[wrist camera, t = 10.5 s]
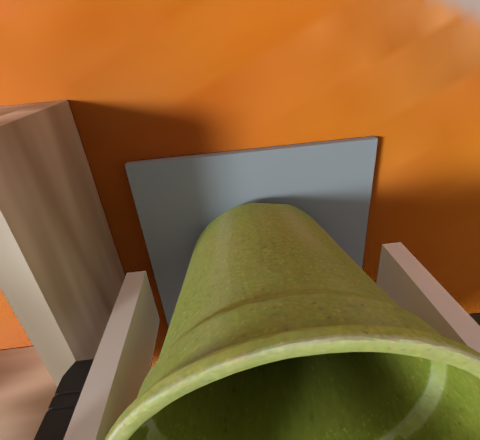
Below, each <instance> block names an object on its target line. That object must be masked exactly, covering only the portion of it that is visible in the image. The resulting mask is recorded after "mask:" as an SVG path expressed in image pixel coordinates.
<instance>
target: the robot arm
mask: <svg viewBox="0 0 480 440" xmlns="http://www.w3.org/2000/svg"><path fill="white" fill-rule="evenodd" d="M376 284H377V285H378V286H379V287H380V288H381V289H382V290H383V291H384V292H385V293H386V294H387V295H388V296H389V297H390V298H391V299H392V300H393V301H394V302H395V303H396V304H397V305H398V306H399V307H401V308H403V309H406V310H408V311H410V312H411V313H413V314H415V315H416V316H418V317H419V318H421V319H423V320H424V321H425V322H427V323H428V324H429V325H430V326H432V327H433V328H434V329H435V330H436V331H437V332H438V333H439V334H440V335H442V336H444V337H446V338H449V339H452V340H454V341H457V342H459V343H462V344H464V345H466V346H469V347H470V348H472V349H474V350H476V351H477V352H479V353H480V313H473V314H468V313H467V312H466V311H465V310H464V309H463V308H462V307H461V306H460V304H459V303H458V302H457V301H456V300H455V299H454V298H453V297H452V296H451V295H450V294H449V293H448V292H447V291H446V290H445V289H444V287H443V286H442V285H441V284H440V283H439V282H438V281H437V280H436V279H435V278H434V277H433V276H432V275H431V274H430V273H429V272H428V270H427V269H426V268H425V267H424V266H423V265H422V264H421V263H420V262H419V261H418V260H417V259H416V258H415V257H414V256H413V255H412V254H411V252H410V251H409V250H408V249H407V248H406V247H405V246H404V245H403V244H402V243H401V242H396V243H387V244H382V248H381V255H380V261H379V268H378V274H377V281H376ZM159 323H160V318H159V315H158V311H157V308H156V304H155V301H154V297H153V294H152V290H151V287H150V283H149V280H148V276H147V273H146V271H138V272H129V273H127V274H126V276H125V279H124V281H123V284H122V287H121V289H120V292H119V295H118V297H117V300H116V302H115V305H114V308H113V310H112V313H111V316H110V318H109V321H108V324H107V326H106V329H105V331H104V334H103V337H102V339H101V342H100V345H99V347H98V350H97V353H96V355H95V358H94V359H89V360H81V361H75V362H74V364H73V365H72V366H71V367H70V368H69V369H68V371H67V372H66V373H65V374H64V375H63V376H62V379H61V381H60V383H59V385H58V387H57V390H56V392H55V396H54V397H53V398H52V401H51V403H50V405H49V407H48V411H47V412H46V414H45V416H44V418H43V420H42V423H41V425H40V427H39V429H38V431H37V434H36V436H35V438H34V440H105V438H106V436H107V434H108V432H109V431H110V429H111V427H112V426H113V425H114V423H115V422H116V420H117V419H118V418H119V416H120V415H121V414H122V413H123V412H124V410H125V409H126V408H127V407H128V406H129V405H130V404H131V403H132V402H133V401H134V400H135V399H137V396H138V393H139V390H140V388H141V386H142V384H143V381H144V379H145V377H146V376H147V374H148V372H149V371H150V369H151V364H152V359H153V354H154V349H155V344H156V339H157V334H158V328H159Z"/></svg>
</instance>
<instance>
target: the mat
mask: <svg viewBox="0 0 480 440" xmlns="http://www.w3.org/2000/svg"><path fill="white" fill-rule="evenodd" d="M377 143H378V138H376V137H375V136H368V137H359V138H349V139H340V140H330V141H321V142H311V143H302V144H293V145H283V146H274V147H264V148H255V149H245V150H236V151H226V152H217V153H207V154H198V155H188V156H179V157H169V158H160V159H150V160H141V161H131V162H127V163H126V164H125V169H126V173H127V176H128V180H129V184H130V187H131V191H132V195H133V198H134V202H135V206H136V209H137V213H138V217H139V221H140V224H141V228H142V232H143V235H144V239H145V243H146V246H147V250H148V254H149V257H150V261H151V265H152V269H153V272H154V276H155V280H156V283H157V287H158V291H159V294H160V298H161V302H162V306H163V309H164V313H165V317H166V320H167V324H168V328H169V325H170V322H171V319H172V316H173V313H174V310H175V307H176V304H177V301H178V298H179V295H180V292H181V289H182V286H183V282H184V279H185V276H186V273H187V270H188V267H189V263H190V260H191V257H192V254H193V250H194V248H195V245H196V242H197V240H198V238H199V237H200V235H201V233H202V232H203V231H204V229H205V228H206V227H207V226H208V225H209V224H210V223H211V222H212V221H213V220H214V219H215V218H217V217H218V216H219V215H221V214H222V213H224V212H226V211H228V210H230V209H232V208H234V207H236V206H239V205H243V204H246V203H270V204H289V205H292V206H294V207H296V208H299V209H300V210H302V211H304V212H305V213H307V214H308V215H309V216H311V217H312V218H313V219H314V220H315V221H316V222H317V223H318V224H319V225H320V226H321V227H322V228H323V229H324V230H325V231H326V232H327V234H328V235H329V236H330V237H331V238H332V239H333V240H334V241H335V242H336V243H337V244H338V245H339V246H340V247H341V248H342V249H343V250H344V251H345V252H346V253H347V255H348V256H349V257H350V258H351V259H352V260H353V261H354V262H355V263H356V264H357V265H358V266H359V267H360V268H361V269H362V266H363V257H364V249H365V241H366V233H367V225H368V217H369V208H370V200H371V192H372V184H373V176H374V167H375V159H376V151H377Z"/></svg>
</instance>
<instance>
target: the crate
mask: <svg viewBox="0 0 480 440" xmlns="http://www.w3.org/2000/svg"><path fill="white" fill-rule="evenodd" d="M124 279H125V274H124V271H123V268H122V265H121V262H120V259H119V256H118V253H117V250H116V246H115V243H114V240H113V237H112V234H111V231H110V228H109V225H108V222H107V219H106V216H105V213H104V210H103V207H102V204H101V201H100V197H99V194H98V191H97V188H96V185H95V182H94V179H93V176H92V173H91V170H90V167H89V164H88V161H87V158H86V155H85V152H84V148H83V145H82V142H81V139H80V136H79V133H78V130H77V127H76V124H75V121H74V118H73V115H72V112H71V109H70V106H69V103H68V100H62V101H52V102H42V103H32V104H22V105H12V106H2V107H0V289H1V291H2V292H3V294H4V296H5V298H6V299H7V301H8V303H9V305H10V306H11V308H12V310H13V311H14V313H15V315H16V317H17V318H18V320H19V322H20V324H21V325H22V327H23V329H24V330H25V332H26V334H27V336H28V337H29V339H30V341H31V343H32V344H33V346H32V347H24V348H15V349H6V350H0V440H34V438H35V436H36V434H37V431H38V429H39V427H40V425H41V423H42V420H43V418H44V416H45V414H46V412H47V411H48V407H49V405H50V403H51V401H52V398H53V397H54V396H55V392H56V390H57V387H58V385H59V383H60V381H61V379H62V376H63V375H64V374H65V373H66V372H67V371H68V369H69V368H70V367H71V366H72V365H73V364H74V362H75V361H81V360H89V359H94V358H95V355H96V353H97V350H98V347H99V345H100V342H101V339H102V337H103V334H104V331H105V329H106V326H107V324H108V321H109V318H110V316H111V313H112V310H113V308H114V305H115V302H116V300H117V297H118V295H119V292H120V289H121V287H122V284H123V281H124Z"/></svg>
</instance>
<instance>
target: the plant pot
mask: <svg viewBox="0 0 480 440" xmlns="http://www.w3.org/2000/svg"><path fill="white" fill-rule="evenodd" d="M105 440H480V353H479V352H477V351H476V350H474V349H472V348H470V347H469V346H466V345H464V344H462V343H459V342H457V341H454V340H452V339H449V338H446V337H444V336H442V335H440V334H439V333H438V332H437V331H436V330H435V329H434V328H433V327H432V326H430V325H429V324H428V323H427V322H425V321H424V320H423V319H421V318H419V317H418V316H416V315H415V314H413V313H411V312H410V311H408V310H406V309H403V308H401V307H399V306H398V305H397V304H396V303H395V302H394V301H393V300H392V299H391V298H390V297H389V296H388V295H387V294H386V293H385V292H384V291H383V290H382V289H381V288H380V287H379V286H378V285H377V284H376V283H375V282H374V281H373V280H372V279H371V278H370V277H369V276H368V275H367V274H366V273H365V272H364V271H363V270H362V269H361V268H360V267H359V266H358V265H357V264H356V263H355V262H354V261H353V260H352V259H351V258H350V257H349V256H348V255H347V253H346V252H345V251H344V250H343V249H342V248H341V247H340V246H339V245H338V244H337V243H336V242H335V241H334V240H333V239H332V238H331V237H330V236H329V235H328V234H327V232H326V231H325V230H324V229H323V228H322V227H321V226H320V225H319V224H318V223H317V222H316V221H315V220H314V219H313V218H312V217H311V216H309V215H308V214H307V213H305V212H304V211H302V210H300V209H299V208H296V207H294V206H292V205H289V204H270V203H246V204H243V205H239V206H236V207H234V208H232V209H230V210H228V211H226V212H224V213H222V214H221V215H219V216H218V217H217V218H215V219H214V220H213V221H212V222H211V223H210V224H209V225H208V226H207V227H206V228H205V229H204V231H203V232H202V233H201V235H200V237H199V238H198V240H197V242H196V245H195V248H194V250H193V254H192V257H191V260H190V263H189V267H188V270H187V273H186V276H185V279H184V282H183V286H182V289H181V292H180V295H179V298H178V301H177V304H176V307H175V310H174V313H173V316H172V319H171V322H170V325H169V328H168V332H167V335H166V338H165V341H164V344H163V347H162V350H161V353H160V356H159V359H158V360H157V362H156V363H155V364H154V365H153V367H152V368H151V369H150V371H149V372H148V374H147V376H146V377H145V379H144V381H143V384H142V386H141V388H140V390H139V393H138V396H137V399H135V400H134V401H133V402H132V403H131V404H130V405H129V406H128V407H127V408H126V409H125V410H124V412H123V413H122V414H121V415H120V416H119V418H118V419H117V420H116V422H115V423H114V425H113V426H112V427H111V429H110V431H109V432H108V434H107V436H106V438H105Z"/></svg>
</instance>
